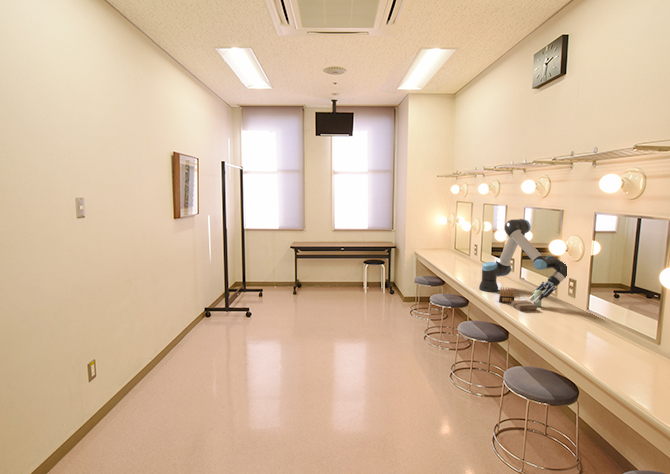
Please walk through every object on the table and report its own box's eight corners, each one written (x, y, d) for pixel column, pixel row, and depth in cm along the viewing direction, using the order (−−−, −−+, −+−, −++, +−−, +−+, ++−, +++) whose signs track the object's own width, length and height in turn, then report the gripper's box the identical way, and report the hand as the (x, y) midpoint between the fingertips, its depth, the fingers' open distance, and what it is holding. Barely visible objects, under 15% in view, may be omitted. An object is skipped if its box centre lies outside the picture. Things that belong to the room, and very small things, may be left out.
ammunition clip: (513, 302, 273) (514, 287, 272) (514, 303, 271) (515, 287, 270) (498, 302, 275) (499, 286, 273) (499, 302, 273) (500, 287, 271)
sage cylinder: (531, 304, 266) (533, 290, 265) (538, 304, 267) (539, 289, 265) (536, 306, 261) (537, 291, 260) (542, 306, 262) (543, 291, 260)
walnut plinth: (510, 305, 265) (511, 300, 264) (526, 305, 266) (526, 300, 265) (520, 311, 253) (520, 305, 253) (536, 310, 254) (536, 305, 253)
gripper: (567, 285, 254) (543, 308, 255) (551, 279, 272) (528, 300, 273) (561, 278, 253) (537, 301, 254) (544, 272, 271) (522, 294, 272)
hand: (532, 301), depth 263 cm, fingers closed on sage cylinder, 5 cm apart
